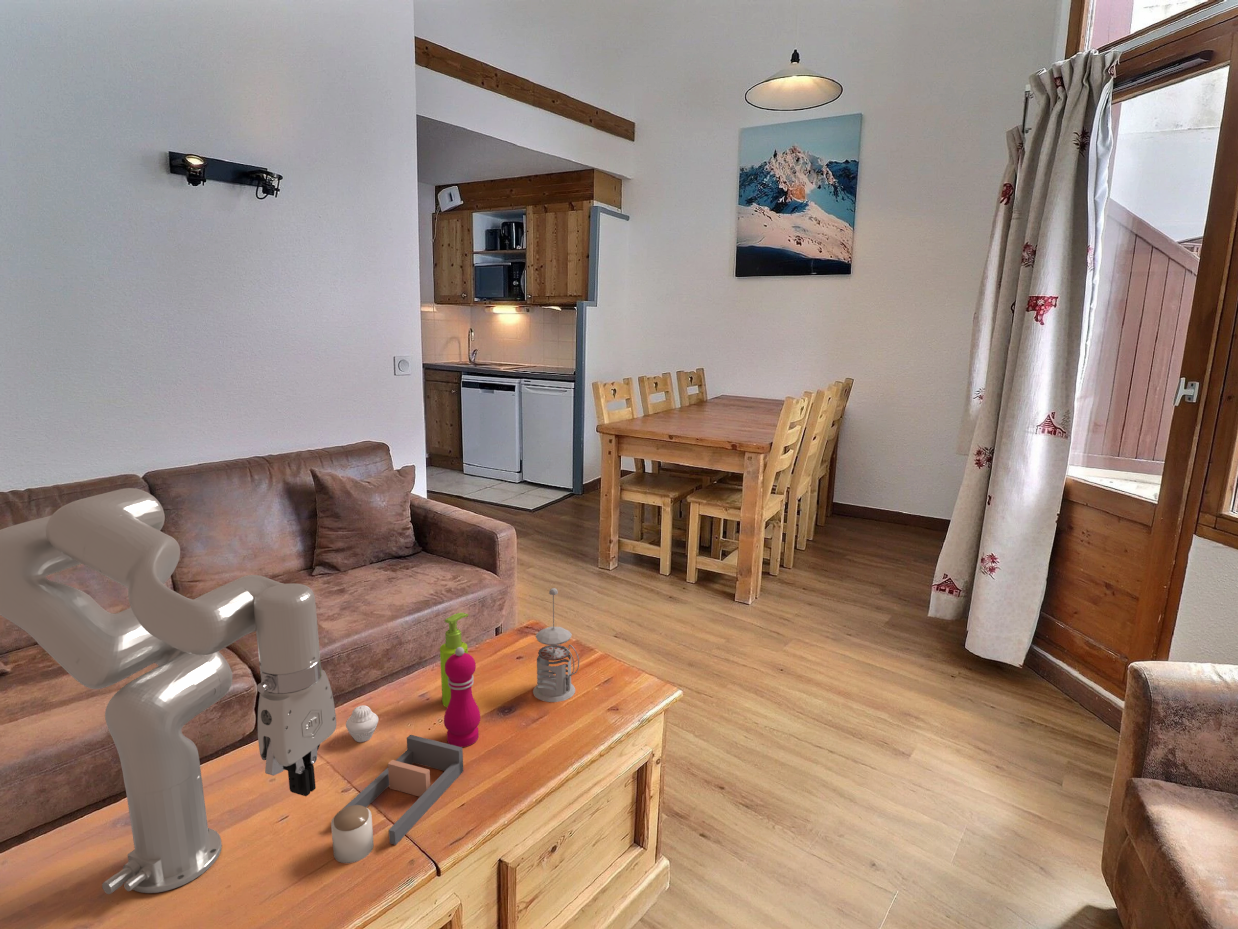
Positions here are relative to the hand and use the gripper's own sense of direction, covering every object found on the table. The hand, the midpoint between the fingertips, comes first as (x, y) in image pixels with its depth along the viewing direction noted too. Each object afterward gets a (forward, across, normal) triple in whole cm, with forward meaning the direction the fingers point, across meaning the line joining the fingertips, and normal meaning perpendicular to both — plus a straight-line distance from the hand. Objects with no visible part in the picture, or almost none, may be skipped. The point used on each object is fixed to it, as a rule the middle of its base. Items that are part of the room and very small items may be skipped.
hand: (302, 790), depth 99 cm
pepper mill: (+17, +41, 0) cm, 44 cm away
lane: (+17, +22, 0) cm, 28 cm away
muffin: (+17, +34, +19) cm, 43 cm away
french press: (+17, +64, -10) cm, 67 cm away
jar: (+17, +9, 0) cm, 19 cm away
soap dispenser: (+17, +53, +9) cm, 56 cm away
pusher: (+17, +24, 0) cm, 29 cm away
